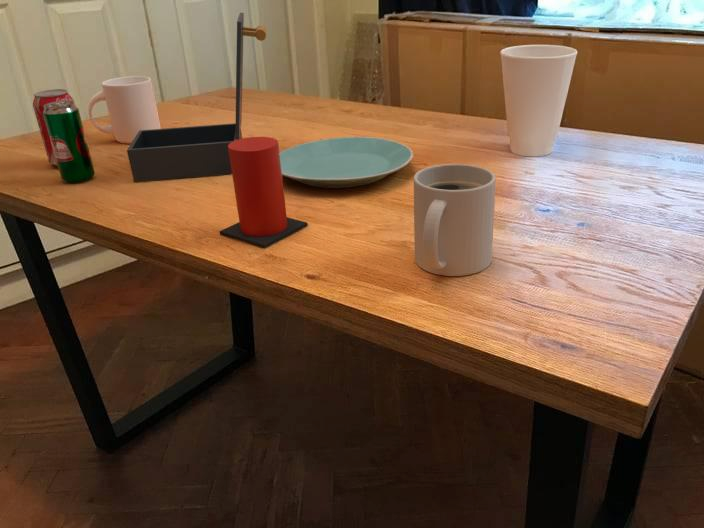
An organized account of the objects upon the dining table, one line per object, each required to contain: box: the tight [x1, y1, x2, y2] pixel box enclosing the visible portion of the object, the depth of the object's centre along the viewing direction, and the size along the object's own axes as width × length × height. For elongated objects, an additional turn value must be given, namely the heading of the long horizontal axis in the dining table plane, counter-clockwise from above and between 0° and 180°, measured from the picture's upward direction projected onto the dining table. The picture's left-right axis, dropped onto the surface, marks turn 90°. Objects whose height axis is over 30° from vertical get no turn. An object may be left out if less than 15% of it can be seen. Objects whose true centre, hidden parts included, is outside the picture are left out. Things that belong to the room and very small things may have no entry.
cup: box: [499, 44, 578, 158], centre depth 107 cm, size 12×12×16 cm
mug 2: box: [413, 163, 497, 277], centre depth 73 cm, size 11×10×10 cm
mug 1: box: [87, 75, 162, 145], centre depth 123 cm, size 9×12×11 cm
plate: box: [279, 136, 414, 189], centre depth 104 cm, size 22×22×3 cm
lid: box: [235, 12, 267, 139], centre depth 104 cm, size 17×12×4 cm
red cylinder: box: [228, 136, 288, 237], centre depth 82 cm, size 6×6×11 cm
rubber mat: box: [219, 216, 308, 249], centre depth 85 cm, size 8×8×1 cm
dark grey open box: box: [126, 122, 243, 183], centre depth 108 cm, size 17×12×5 cm
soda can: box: [43, 101, 96, 184], centre depth 103 cm, size 5×5×12 cm
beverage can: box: [32, 88, 76, 167], centre depth 111 cm, size 6×6×12 cm
